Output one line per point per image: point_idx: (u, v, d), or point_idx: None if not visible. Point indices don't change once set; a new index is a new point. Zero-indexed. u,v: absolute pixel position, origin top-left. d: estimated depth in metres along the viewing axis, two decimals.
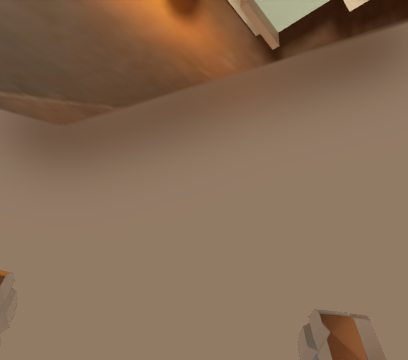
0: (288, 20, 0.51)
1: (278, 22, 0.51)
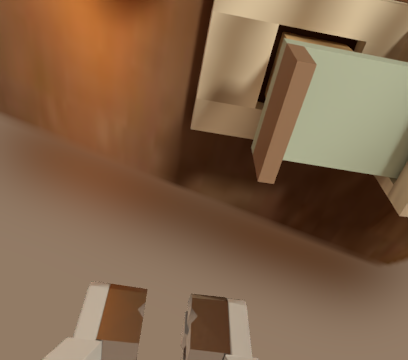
0: (299, 153, 0.25)
1: None
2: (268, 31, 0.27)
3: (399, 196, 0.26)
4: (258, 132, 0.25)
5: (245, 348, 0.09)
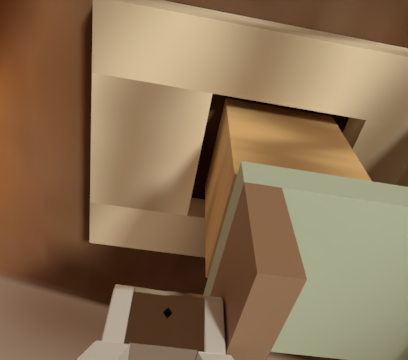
0: (280, 341, 0.14)
1: None
2: (195, 104, 0.16)
3: None
4: None
5: (219, 345, 0.09)
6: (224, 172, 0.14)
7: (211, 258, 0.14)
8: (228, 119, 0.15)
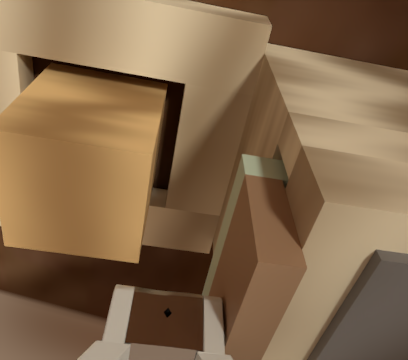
0: None
1: None
2: (1, 65, 0.15)
3: None
4: None
5: (218, 345, 0.09)
6: None
7: (2, 224, 0.14)
8: (34, 81, 0.15)
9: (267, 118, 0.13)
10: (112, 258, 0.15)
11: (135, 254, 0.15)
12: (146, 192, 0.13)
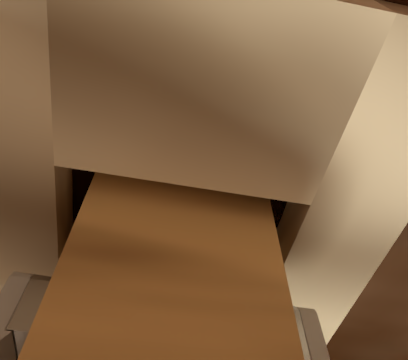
0: None
1: None
2: (296, 183, 0.10)
3: None
4: None
5: (324, 357, 0.09)
6: (240, 303, 0.08)
7: None
8: (276, 237, 0.10)
9: None
10: None
11: None
12: None
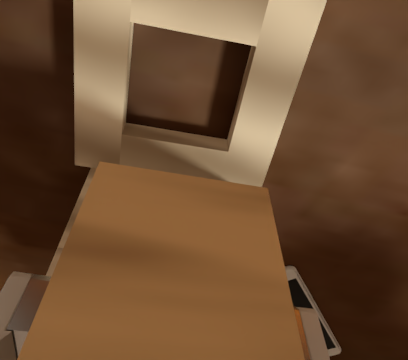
0: None
1: None
2: (248, 32, 0.19)
3: None
4: None
5: (324, 357, 0.09)
6: (241, 302, 0.08)
7: None
8: (276, 237, 0.10)
9: None
10: None
11: None
12: None
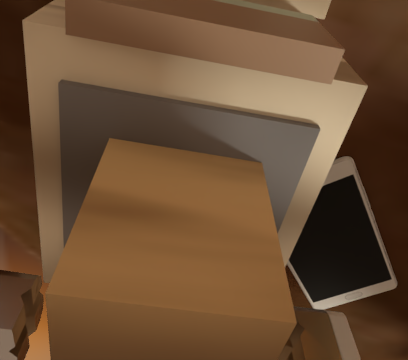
0: None
1: None
2: None
3: None
4: None
5: None
6: (236, 252, 0.09)
7: (102, 300, 0.07)
8: (269, 202, 0.11)
9: None
10: None
11: None
12: None
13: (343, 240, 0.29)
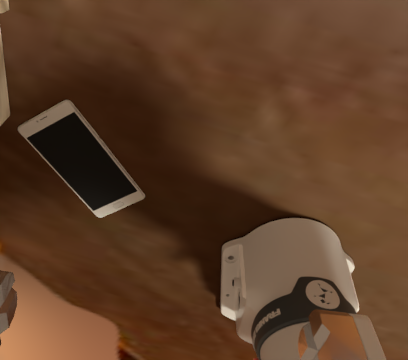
0: None
1: None
2: None
3: None
4: None
5: None
6: None
7: None
8: None
9: None
10: None
11: None
12: None
13: (90, 160, 0.45)
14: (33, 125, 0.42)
